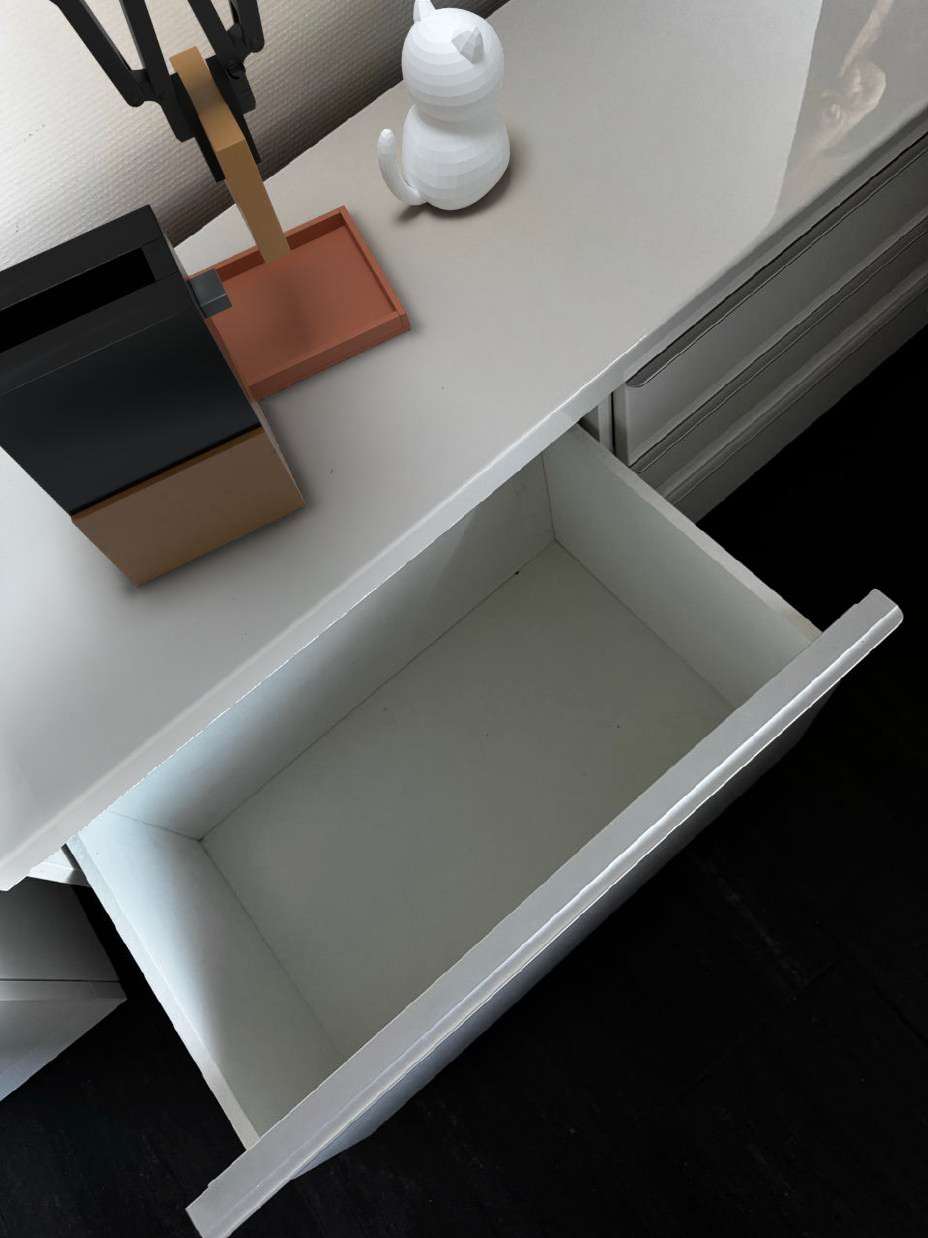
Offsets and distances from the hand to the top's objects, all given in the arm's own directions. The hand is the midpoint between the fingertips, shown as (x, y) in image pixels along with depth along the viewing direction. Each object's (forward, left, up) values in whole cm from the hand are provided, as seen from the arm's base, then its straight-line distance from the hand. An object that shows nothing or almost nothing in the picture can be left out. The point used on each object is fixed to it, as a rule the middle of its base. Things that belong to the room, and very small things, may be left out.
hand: (232, 159), depth 71 cm
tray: (0, 0, -16) cm, 16 cm away
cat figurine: (+17, +5, -16) cm, 24 cm away
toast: (0, 0, -5) cm, 5 cm away
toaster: (-13, -13, -16) cm, 24 cm away
